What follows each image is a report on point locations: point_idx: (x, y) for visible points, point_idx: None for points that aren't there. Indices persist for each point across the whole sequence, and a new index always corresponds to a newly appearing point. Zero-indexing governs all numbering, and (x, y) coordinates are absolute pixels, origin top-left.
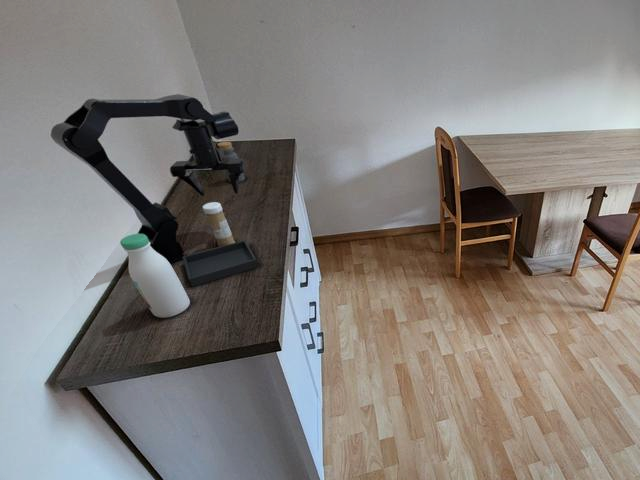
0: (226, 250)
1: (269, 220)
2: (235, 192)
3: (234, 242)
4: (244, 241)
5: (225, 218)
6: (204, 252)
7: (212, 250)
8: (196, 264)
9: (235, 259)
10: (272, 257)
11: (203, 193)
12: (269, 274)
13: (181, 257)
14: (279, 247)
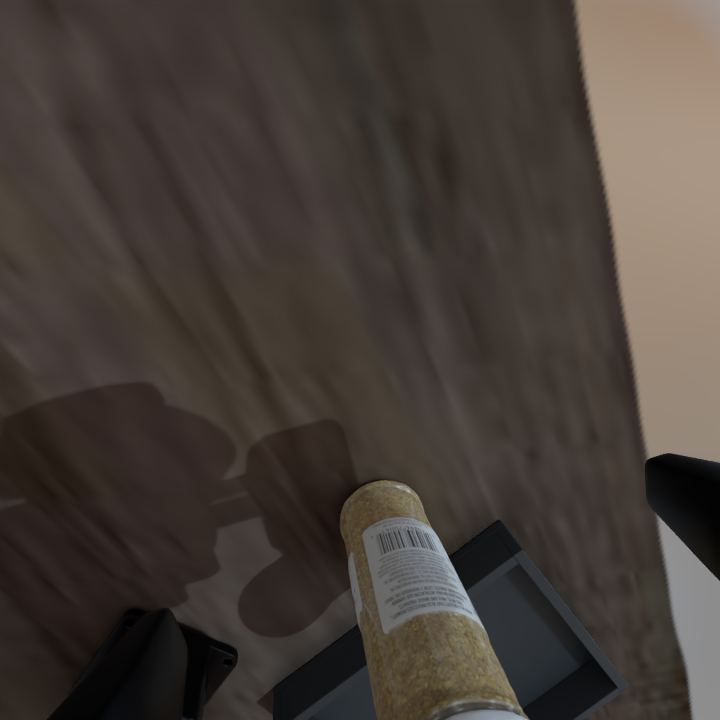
0: None
1: (515, 192)
2: (678, 528)
3: (423, 509)
4: (524, 566)
5: (485, 634)
6: (358, 678)
7: None
8: (338, 698)
9: (496, 638)
10: (637, 582)
11: (169, 654)
12: (651, 681)
13: (226, 672)
14: (649, 504)
